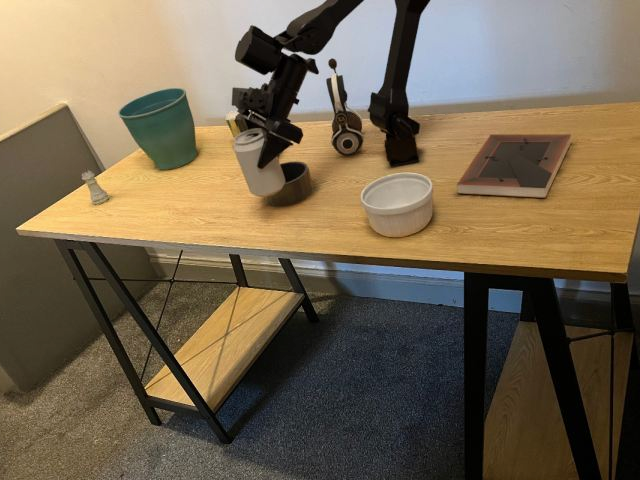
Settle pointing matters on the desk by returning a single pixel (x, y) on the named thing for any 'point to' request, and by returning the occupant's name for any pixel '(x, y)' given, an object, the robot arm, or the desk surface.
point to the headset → (343, 117)
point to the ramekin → (398, 203)
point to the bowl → (292, 185)
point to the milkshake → (232, 123)
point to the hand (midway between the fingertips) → (251, 162)
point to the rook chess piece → (95, 188)
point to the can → (248, 156)
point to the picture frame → (515, 165)
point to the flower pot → (162, 127)
